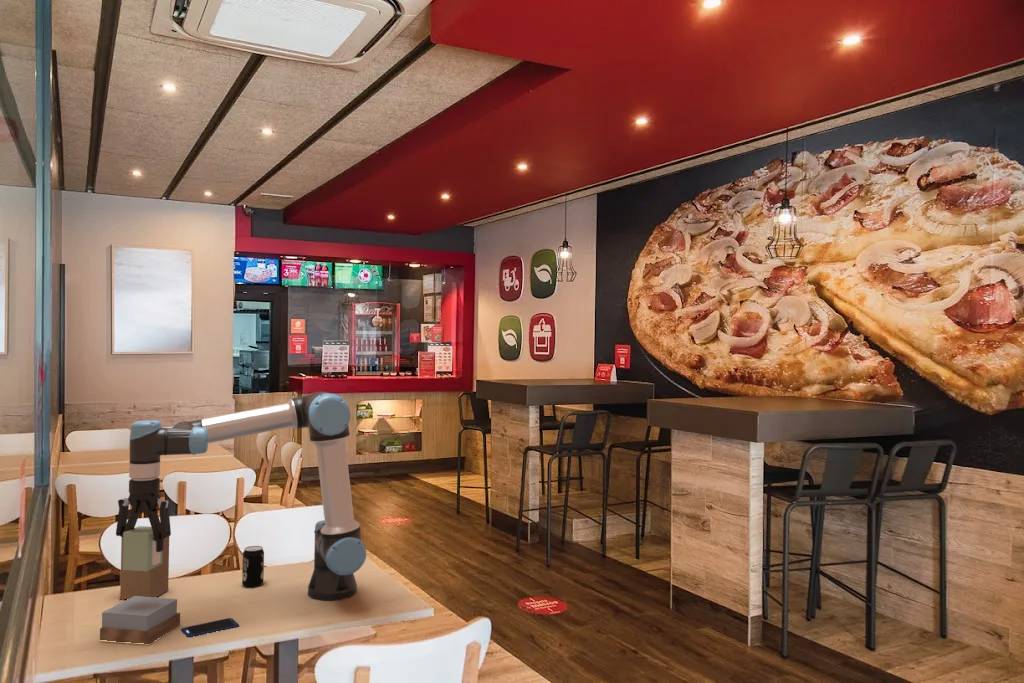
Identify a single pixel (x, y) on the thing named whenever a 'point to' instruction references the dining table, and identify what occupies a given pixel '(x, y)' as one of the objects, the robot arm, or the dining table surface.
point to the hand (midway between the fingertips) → (142, 562)
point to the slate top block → (139, 613)
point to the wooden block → (145, 578)
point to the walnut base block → (140, 632)
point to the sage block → (138, 549)
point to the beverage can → (253, 566)
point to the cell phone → (209, 627)
